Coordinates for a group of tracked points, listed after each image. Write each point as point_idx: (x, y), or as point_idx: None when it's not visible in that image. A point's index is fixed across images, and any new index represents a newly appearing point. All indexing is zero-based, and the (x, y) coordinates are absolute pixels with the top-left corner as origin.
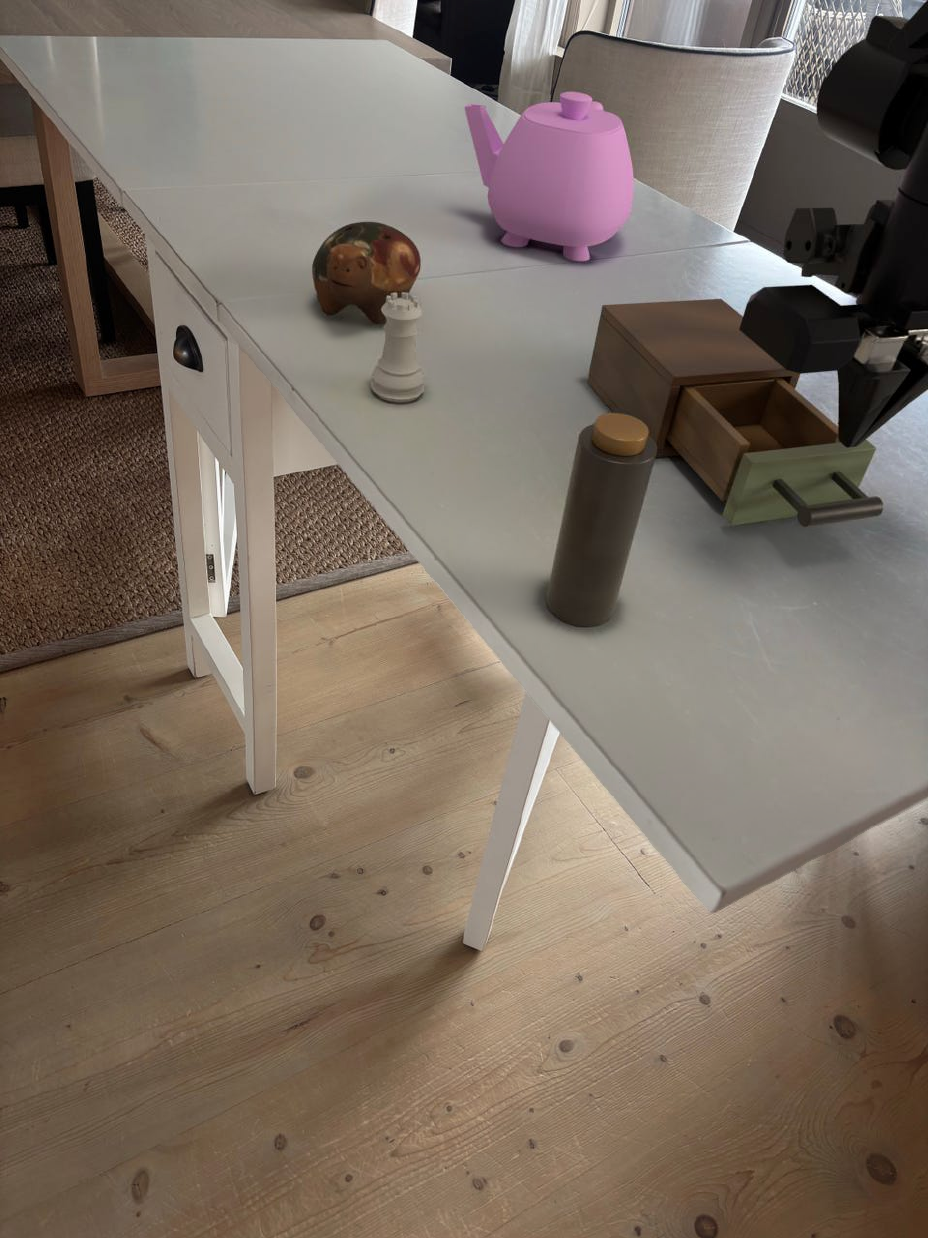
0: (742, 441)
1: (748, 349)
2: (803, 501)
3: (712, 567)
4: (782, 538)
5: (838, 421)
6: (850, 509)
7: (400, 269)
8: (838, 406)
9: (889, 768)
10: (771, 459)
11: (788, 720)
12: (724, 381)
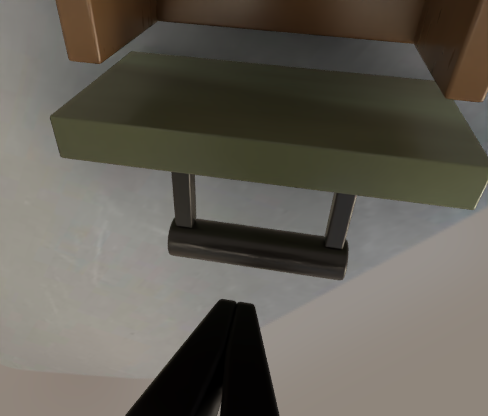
0: (79, 46)
1: None
2: (188, 217)
3: None
4: None
5: (189, 336)
6: (260, 268)
7: None
8: (159, 373)
9: (147, 368)
10: (116, 163)
11: (86, 320)
12: None
